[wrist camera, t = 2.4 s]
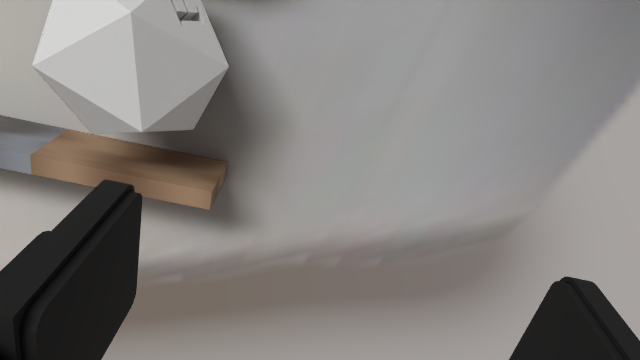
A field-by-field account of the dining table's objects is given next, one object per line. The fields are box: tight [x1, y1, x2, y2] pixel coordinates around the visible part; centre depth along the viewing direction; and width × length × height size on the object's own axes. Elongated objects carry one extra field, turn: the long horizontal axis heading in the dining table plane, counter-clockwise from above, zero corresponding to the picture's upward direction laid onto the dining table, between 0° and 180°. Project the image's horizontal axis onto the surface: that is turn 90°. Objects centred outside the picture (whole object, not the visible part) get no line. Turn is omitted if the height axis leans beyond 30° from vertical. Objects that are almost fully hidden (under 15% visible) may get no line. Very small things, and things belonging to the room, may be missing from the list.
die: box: [32, 0, 229, 134], centre depth 23 cm, size 8×9×10 cm
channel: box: [0, 115, 227, 210], centre depth 24 cm, size 18×16×4 cm
